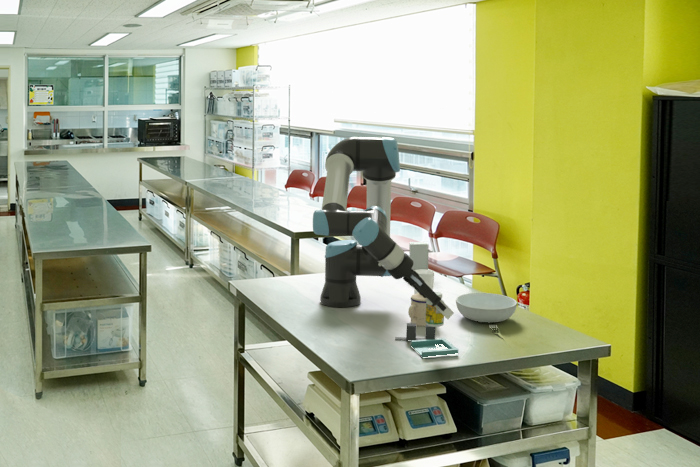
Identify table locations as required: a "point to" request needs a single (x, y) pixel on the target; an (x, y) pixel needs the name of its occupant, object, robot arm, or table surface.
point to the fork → (494, 326)
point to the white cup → (426, 277)
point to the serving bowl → (486, 307)
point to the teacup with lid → (418, 310)
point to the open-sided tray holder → (424, 345)
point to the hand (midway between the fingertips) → (446, 312)
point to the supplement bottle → (434, 314)
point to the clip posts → (412, 333)
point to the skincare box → (419, 255)
